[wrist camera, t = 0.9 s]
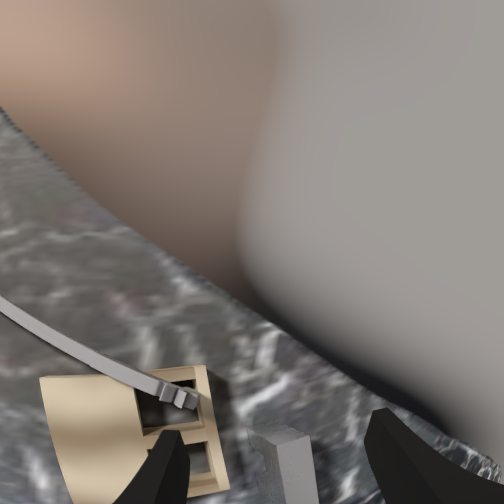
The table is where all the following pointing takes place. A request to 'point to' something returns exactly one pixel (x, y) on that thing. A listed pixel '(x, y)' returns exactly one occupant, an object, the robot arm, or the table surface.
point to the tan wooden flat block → (121, 433)
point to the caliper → (102, 360)
